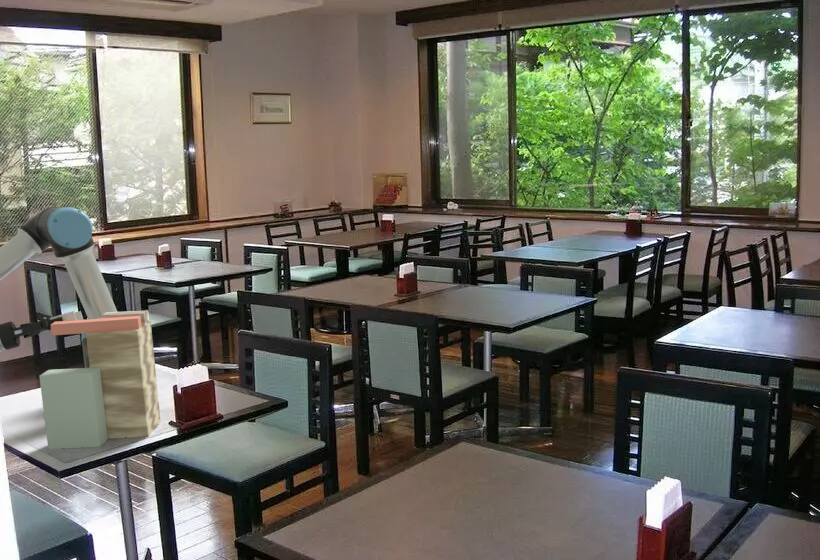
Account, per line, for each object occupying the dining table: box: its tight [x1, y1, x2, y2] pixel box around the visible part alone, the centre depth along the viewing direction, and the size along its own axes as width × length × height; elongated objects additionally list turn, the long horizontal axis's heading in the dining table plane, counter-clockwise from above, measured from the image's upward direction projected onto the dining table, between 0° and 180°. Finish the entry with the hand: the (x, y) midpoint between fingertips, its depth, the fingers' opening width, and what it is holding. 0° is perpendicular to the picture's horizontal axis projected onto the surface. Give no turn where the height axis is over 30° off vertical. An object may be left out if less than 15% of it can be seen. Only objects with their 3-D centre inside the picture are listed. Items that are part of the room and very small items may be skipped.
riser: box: [39, 367, 109, 450], centre depth 229 cm, size 6×14×20 cm, turn 90°
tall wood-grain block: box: [86, 309, 162, 439], centre depth 237 cm, size 12×14×34 cm
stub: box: [50, 316, 142, 336], centre depth 232 cm, size 4×23×3 cm, turn 97°
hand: (78, 315), depth 243 cm, fingers open, 13 cm apart
